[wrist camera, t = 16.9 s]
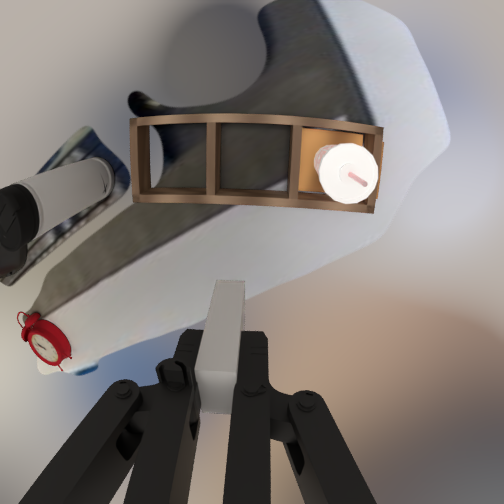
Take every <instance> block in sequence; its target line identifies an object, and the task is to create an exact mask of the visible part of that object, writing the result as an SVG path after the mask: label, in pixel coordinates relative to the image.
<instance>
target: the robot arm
mask: <svg viewBox="0 0 504 504" xmlns="http://www.w3.org/2000/svg"><path fill="white" fill-rule="evenodd" d="M0 244H1V243H0ZM26 256H27V244H26V245H24V246H23V247H21V248H20V249H18V250H17V251H15V252H10V251H7V250H6V249H4V248H3V247H2V246H1V245H0V278H3V277H7V276H11V275H13V274H15V273H16V272H17V271H19V270H20V269H21V268H22V267H23V265H24V263H25V261H26ZM244 324H245V281H225V280H217V281H216V284H215V288H214V292H213V296H212V300H211V304H210V308H209V312H208V316H207V320H206V324H205V328H204V330H195V329H187V330H186V331H185V332H184V333H183V334H182V335H181V336H180V338H179V341H178V345H177V348H176V351H175V354H174V357H173V358H169V359H166V360H163V361H162V362H160V363H159V364H158V365H157V367H156V372H157V376H158V379H159V383H158V384H155V385H150V386H143V387H139V386H138V385H137V383H135V382H133V381H132V380H127V379H124V380H119V381H116V382H114V383H113V384H112V385H111V386H110V387H109V388H108V389H107V391H106V392H105V393H104V394H103V395H102V397H101V398H100V399H99V401H98V402H97V403H96V404H95V405H94V407H93V408H92V409H91V410H90V412H89V413H88V414H87V415H86V417H85V418H84V419H83V420H82V422H81V423H80V424H79V426H78V427H77V428H76V429H75V430H74V432H73V433H72V434H71V436H70V437H69V438H68V439H67V441H66V442H65V443H64V444H63V446H62V447H61V448H60V450H59V451H58V452H57V453H56V455H55V456H54V457H53V459H52V460H51V461H50V463H49V464H48V465H47V466H46V468H45V469H44V470H43V472H42V473H41V474H40V476H39V477H38V478H37V480H36V481H35V482H34V484H33V485H32V486H31V487H30V489H29V490H28V492H27V493H26V494H25V495H24V497H23V498H22V500H21V501H20V502H19V504H109V503H110V501H111V500H112V498H113V497H114V495H115V493H116V492H117V490H118V489H119V487H120V485H121V484H122V482H123V481H124V479H125V477H126V476H127V474H128V473H129V471H130V469H131V468H132V466H133V464H134V467H133V471H132V474H131V477H130V481H129V484H128V488H127V492H126V496H125V499H124V503H123V504H187V503H188V496H189V490H190V483H191V477H192V471H193V464H194V459H195V452H196V446H197V440H198V434H199V428H200V417H199V414H200V409H201V410H202V412H203V413H216V414H231V422H230V432H229V442H228V454H227V464H226V474H225V484H224V495H223V504H271V495H270V494H271V489H270V488H271V476H270V473H271V471H270V439H274V440H277V441H281V442H283V445H284V447H285V450H286V453H287V456H288V458H289V461H290V464H291V467H292V470H293V472H294V475H295V478H296V481H297V483H298V486H299V489H300V491H301V494H302V497H303V499H304V502H305V504H377V503H376V501H375V500H374V497H373V496H372V494H371V492H370V490H369V488H368V486H367V484H366V482H365V480H364V478H363V476H362V474H361V472H360V470H359V468H358V466H357V465H356V462H355V460H354V458H353V456H352V454H351V452H350V451H349V448H348V447H347V445H346V443H345V441H344V439H343V437H342V435H341V433H340V431H339V429H338V427H337V425H336V423H335V421H334V419H333V417H332V415H331V413H330V411H329V409H328V407H327V405H326V403H325V401H324V399H323V398H322V397H321V396H320V395H319V394H317V393H316V392H313V391H309V390H305V391H299V392H296V393H294V394H293V395H288V394H284V393H281V392H279V391H277V390H275V389H274V388H273V387H272V386H271V384H270V383H269V376H268V338H267V337H266V336H265V334H264V332H262V331H244V326H245V325H244Z"/></svg>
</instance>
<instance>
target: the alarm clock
mask: <svg viewBox="0 0 504 504" xmlns="http://www.w3.org/2000/svg"><path fill="white" fill-rule="evenodd" d="M20 313H23V314H25V313H24V312H19V313H18V315H17V320H18V316H19V314H20ZM25 315H26V314H25ZM26 316H27V317H28V318H27V319H26V321H25V326H24V328H23V327H22V325H21V324H20V323H19V320H18V323H19V324H20V325H21V327H22V328H23V329H22V333H21V336H22V339H23V340H24V341H25V342H27V341H28V342H29V344H30V347H31V348H32V350H33V352H34V353H35V354H36V355H37V356H38V357H39V358H40V359H41V360H42V361H44V362H45V363H47V364H49V365H52V366H57V365H58V366H59V364H60V363H61V362H62V360H63V359H65V358H68V357H69V356H71V354H70V353H71V347H70V344H69V342H68V340H67V338H66V337H65V335H64V334H63V333H62V332H61V330H60V329H59V328H57V327H56V326H55V325H54V324H52V323H51V322H49V321H46V320H38V319H39V318H40V314H39V313H33V314H32V315H29V314H28V315H26ZM33 324H34V326H33ZM31 325H32V326H33V328H32V327H31ZM30 327H31V328H32V329H31V328H30ZM69 358H70V359H72V357H69ZM59 368H60V369H61V367H60V366H59ZM61 371H63V369H61Z"/></svg>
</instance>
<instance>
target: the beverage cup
mask: <svg viewBox="0 0 504 504" xmlns="http://www.w3.org/2000/svg"><path fill="white" fill-rule="evenodd" d="M314 168H315V169H316V171H317V173H318V175H319V181H320V183H321V185H322V187H323V189H324V191H325V193H326V194H328V195H329V196H330V197H331V198H332V199H333V200H335V201H338V202H341V203H344V204H352V203H358V202H360V201H362V200H364V199H366V198H367V197H368V196H369V195H370V194H371V193H372V191H373V190H374V189H375V186H376V183H377V180H378V166H377V164H376V161H375V159H374V157H373V155H372V154H371V153H370V152H369V151H367V150H366V149H365V148H364V147H362V146H359V145H356V144H354V143H344V144H338V145H326V146H324V147H322V148H320V149H319V150H318V152H317V153H316V155H315V158H314Z"/></svg>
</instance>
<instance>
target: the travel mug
mask: <svg viewBox="0 0 504 504" xmlns="http://www.w3.org/2000/svg"><path fill="white" fill-rule="evenodd" d="M114 182H115V176H114V172H113V169H112V167H111V165H110V164H109V163H108V162H107V161H106V160H105V159H103V158H100V157H93V158H89V159H86V160H82V161H79V162H75V163H72V164H69V165H66V166H62V167H59V168H56V169H53V170H50V171H47V172H44V173H41V174H38V175H35V176H33V177H30V178H27V179H24V180H21V181H19V182H16V183H13V184H11V185H10V186H7V187H5V188H2V189H0V243H1V244H0V245H1V246H2V247H3V248H4V249H6V250H7V251H10V252H15V251H17V250H18V249H20V248H21V247H23V246H24V245H26V244H27V243H29V242H31V241H33V240H34V239H36V238H37V237H39V236H41V235H42V234H44V233H45V232H47V231H48V230H50V229H52V228H53V227H55V226H57V225H58V224H60V223H61V222H63V221H65V220H66V219H68V218H70V217H72V216H73V215H75V214H77V213H78V212H80V211H82V210H84V209H85V208H87V207H89V206H91V205H93V204H94V203H96V202H98V201H100V200H102V199H104V198H105V197H107V196H108V195H109V194H110V193H111V191H112V189H113V187H114Z"/></svg>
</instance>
